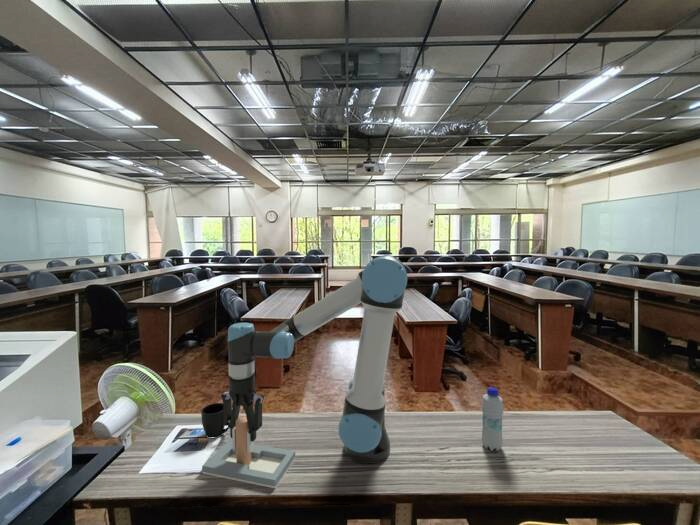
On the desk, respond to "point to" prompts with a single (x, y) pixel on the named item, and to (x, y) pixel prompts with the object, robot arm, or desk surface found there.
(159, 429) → the desk surface
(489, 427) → the bottle
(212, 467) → the keyhole board
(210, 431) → the mug
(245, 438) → the peg
